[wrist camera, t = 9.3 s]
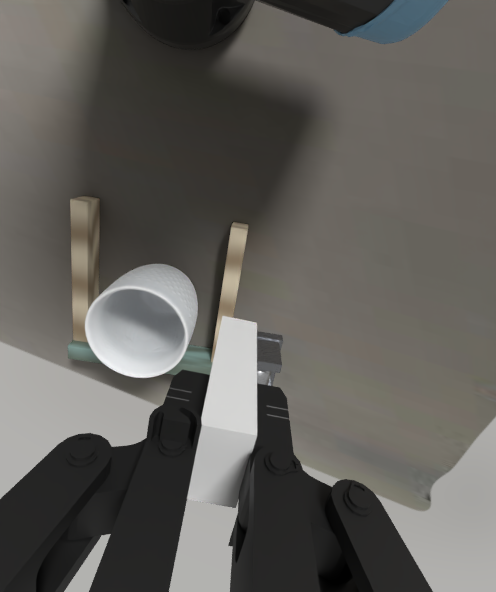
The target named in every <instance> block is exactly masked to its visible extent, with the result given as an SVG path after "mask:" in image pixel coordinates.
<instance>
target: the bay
mask: <svg viewBox="0 0 496 592" xmlns="http://www.w3.org/2000/svg"><path fill="white" fill-rule="evenodd" d="M70 212H71V259H72V305H73V341H72V342H71V343H70V344H69V345H68V359H75V360H81V361H88V362H94V363H101V364H103V363H102V362H101V361H100V360H99V359H98V357H97V356H96V355H95V354H94V352H93V351H92V349H91V347H90V345H89V343H88V341H87V337H86V333H85V318H86V315H87V312H88V310H89V308H90V306H91V304H92V303H93V302H94V300H95V299H96V298H97V297H98V296H99V225H100V198H94V197H88V196H81V197H77V198H73V199H70ZM247 232H248V224H243V223H237V222H233V223H232V226H231V232H230V239H229V245H228V252H227V259H226V265H225V272H224V278H223V285H222V292H221V298H220V305H219V311H218V318H217V324H216V331H215V338H214V344H213V349H212V348H206V347H199V346H193V345H188V347H187V350H186V352H185V354H184V356H183V358H182V359H181V360H180V362H179V363H178V364H177V365H176V366H175V367H174V368H172V369H171V370H170V371H168V372H166V373H165V374H172V375H176V374H178V373H179V372H180V371H181V370H182V369H183V370H188V371H193V372H198V373H203V374H208V375H210V372H211V368H212V363H213V358H214V354H215V349H216V344H217V339H218V335H219V330H220V325H221V321H222V316H227V317H231V318H233V314H234V309H235V303H236V297H237V291H238V285H239V279H240V273H241V267H242V262H243V256H244V250H245V244H246V238H247Z"/></svg>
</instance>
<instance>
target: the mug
mask: <svg viewBox="0 0 496 592" xmlns="http://www.w3.org/2000/svg"><path fill="white" fill-rule="evenodd" d="M197 311H198V302H197V295H196V291H195V289H194V286H193V285H192V282H191V281H190V279H189V278H188V277H187V276H186V275H185V274H184V273H183V272H181V271H180V270H178V269H176V268H175V267H172V266H169V265H165V264H150V265H145V266H141V267H138V268H135V269H134V270H130V271H129V272H128V273H126V274H124V275H123V276H121V277H120V278H118V280H116V281H114V282H113V284H111V285H110V286H109V287H108V288H107V289H105V290H104V291H103V293H101V294H100V295H99V296H98V297H97V298H96V299H95V300H94V302H93V303H92V304H91V306H90V308H89V310H88V312H87V315H86V318H85V333H86V337H87V341H88V343H89V345H90V347H91V349H92V351H93V352H94V354H95V355H96V356H97V357H98V359H99V360H100V361H101V362H102V363H103V364H105V365H106V366H107V367H109V368H110V369H112V370H114V371H116V372H118V373H120V374H123V375H126V376H130V377H135V378H150V377H155V376H159V375H162V374H164V373H166V372H168V371H170V370H171V369H172V368H174V367H175V366H176V365H177V364H178V363H179V362H180V360H181V359H182V358H183V356H184V354H185V352H186V350H187V347H188V344H189V342H190V340H191V336H192V334H193V331H194V328H195V323H196V320H197V319H196V318H197V315H198V313H197Z"/></svg>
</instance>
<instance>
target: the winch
mask: <svg viewBox="0 0 496 592" xmlns="http://www.w3.org/2000/svg"><path fill="white" fill-rule="evenodd" d="M282 342H283V338H282V335H276V334H270V333H264V332H258V331H257V383H259V384H264V385H269V386H272V384H273V380H274V376H275V372H277V373H280V371H281V366H282V362H281V353H280V350H281V346H282Z"/></svg>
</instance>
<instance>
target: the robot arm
mask: <svg viewBox="0 0 496 592" xmlns="http://www.w3.org/2000/svg"><path fill="white" fill-rule="evenodd" d="M256 1H258V2H261V3H264V4H266V5H269V6H272V7H275V8H277V9H280V10H283V11H285V12H288V13H291V14H294V15H296V16H299V17H302V18H304V19H307V20H310V21H313V22H315V23H318V24H321V25H323V26H326V27H329V28H331V29H334V31H335V32H336V33H337V34H339V35H341V36H348V37H351V36H357V37H360V38H363V39H366V40H370V41H373V42H376V43H380V44H388V43H395V42H399V41H402V40H404V39H406V38H408V37H409V36H411V35H412V34H414V33H415V32H417V31H418V30H419V29H421V28H422V27H423V26H424V25H425V24H426V23H428V22H429V21H430V20H431V19H432V18H433V17H434V16H435V15H436V14H437V13H438V12H439V10H440V9H441V8H442V7H443V6H444V5H445V4H446V3H447V2H448V0H256ZM121 2H122V3H123V5H124V6H125V8H126V9H127V11H128V12H129V13H130V15H131V16H132V17H133V18H134V19H135V20H136V21H137V22H138V24H139V25H140V26H141V27H142V28H143V29H144V30H145V31H147V32H148V33H149V34H150V35H151V36H153V37H154V38H156V39H157V40H159V41H161V42H163V43H165V44H167V45H169V46H172V47H176V48H180V49H201V48H206V47H209V46H212V45H215V44H217V43H219V42H221V41H222V40H224V39H225V38H227V37H228V36H229V35H230V34H232V33H233V32H234V31H235V30H236V29H237V28H238V27H239V25H240V24H241V23H242V22H243V20H244V19H245V17H246V16H247V14H248V13H249V11H250V9H251V7H252V5H253V2H254V0H121ZM238 499H239V504H238V515H237V518H236V522H235V525H234V528H233V531H232V535H231V538H230V542H229V546H233V552H232V568H231V583H230V592H433V591H432V589H431V588H430V586H429V584H428V583H427V581H426V579H425V578H424V576H423V574H422V572H421V571H420V569H419V567H418V565H417V564H416V562H415V561H414V559H413V557H412V555H411V554H410V552H409V550H408V548H407V547H406V545H405V543H404V542H403V540H402V538H401V536H400V535H399V533H398V531H397V530H396V528H395V526H394V524H393V523H392V521H391V519H390V517H389V516H388V514H387V512H386V511H385V509H384V507H383V506H382V504H381V502H380V501H379V499H378V498H377V497H376V495H375V494H374V493H373V492H372V491H371V490H370V489H368V488H367V487H366V486H365V485H363V484H361V483H359V482H357V481H354V480H347V479H344V480H340V481H337V482H336V483H335V485H334V486H333V487H331V486H329V485H327V484H325V483H322V482H320V481H318V480H316V479H314V478H313V477H311V476H309V475H308V474H307V473H306V472H305V471H303V469H302V466H301V463H300V461H299V460H298V459H297V458H296V456H295V455H294V453H293V445H292V437H291V429H290V421H289V413H288V405H287V398H286V396H285V395H284V393H283V392H282V390H281V389H280V388H279V387H274V386H269V385H264V384H259V383H257V323H255V322H251V321H246V320H241V319H236V318H231V317H227V316H222V321H221V325H220V330H219V335H218V339H217V344H216V349H215V354H214V358H213V363H212V368H211V372H210V375H208V374H203V373H198V372H193V371H188V370H183V369H182V370H181V371H180V372H179V373H178V374H176V375H175V376H174V377H173V380H172V382H171V385H170V388H169V390H168V393H167V396H166V399H165V401H164V404H163V405H162V406H160V407H158V408H157V409H155V410H154V411H153V412H152V414H151V415H150V418H149V425H148V432H147V438H146V439H144V440H143V441H141V442H139V443H136V444H133V445H128V446H119V447H111V445H110V444H109V442H108V440H106V439H105V438H103V437H102V436H100V435H96V434H91V433H87V434H78V435H75V436H72V437H69V438H67V439H66V440H64V441H63V442H61V443H60V444H58V445H57V446H56V447H55V448H54V449H53V450H52V451H51V452H50V453H49V454H48V455H47V456H46V457H45V458H44V459H43V460H42V461H40V462H39V463H38V464H37V465H36V466H35V467H34V468H33V469H32V470H31V471H30V472H29V473H28V474H27V475H25V476H24V477H23V478H22V479H21V480H20V481H19V482H18V483H17V484H16V485H15V486H14V487H13V488H12V489H11V490H10V491H9V492H8V493H6V494H5V495H4V496H3V497H2V498H1V499H0V592H64V591H65V589H66V588H67V586H68V585H69V583H70V582H71V580H72V579H73V577H74V576H75V574H76V573H77V571H78V570H79V568H80V567H81V565H82V564H83V562H84V561H85V559H86V558H87V557H88V555H89V553H90V552H91V550H92V549H93V548H94V546H95V545H96V543H97V542H98V540H99V539H100V537H101V535H106V534H111V535H110V538H109V540H108V543H107V546H106V548H105V551H104V554H103V556H102V559H101V562H100V564H99V567H98V569H97V572H96V575H95V577H94V580H93V583H92V585H91V588H90V590H89V592H169V587H170V581H171V577H172V572H173V567H174V562H175V557H176V551H177V547H178V542H179V536H180V531H181V526H182V521H183V516H184V511H185V506H186V501H187V500H193V501H199V502H205V503H210V504H216V505H222V506H228V507H233V508H236V505H237V502H238Z"/></svg>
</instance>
